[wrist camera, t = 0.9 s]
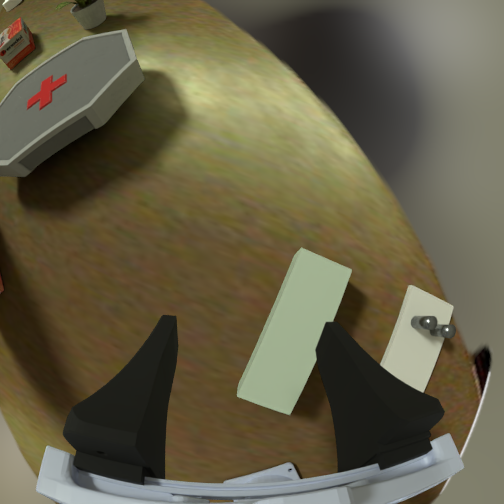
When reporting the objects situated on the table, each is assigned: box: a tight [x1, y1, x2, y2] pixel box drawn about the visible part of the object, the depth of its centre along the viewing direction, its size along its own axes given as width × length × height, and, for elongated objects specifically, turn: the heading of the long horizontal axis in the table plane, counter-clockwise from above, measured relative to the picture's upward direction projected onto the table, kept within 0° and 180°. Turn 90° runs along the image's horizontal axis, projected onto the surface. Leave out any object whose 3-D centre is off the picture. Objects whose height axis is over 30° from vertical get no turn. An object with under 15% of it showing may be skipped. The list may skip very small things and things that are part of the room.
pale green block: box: [237, 248, 352, 415], centre depth 25 cm, size 14×5×4 cm, turn 157°
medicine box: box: [0, 17, 35, 70], centre depth 32 cm, size 15×8×8 cm, turn 38°
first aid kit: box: [0, 29, 145, 177], centre depth 27 cm, size 18×8×25 cm
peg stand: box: [380, 285, 456, 392], centre depth 24 cm, size 18×7×4 cm, turn 156°
